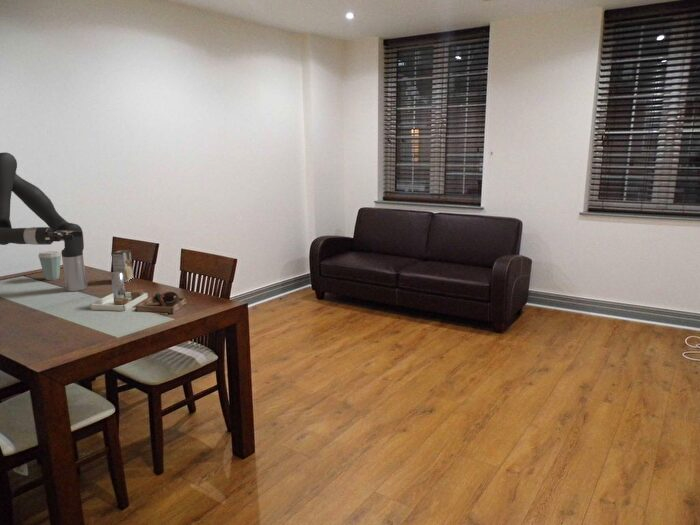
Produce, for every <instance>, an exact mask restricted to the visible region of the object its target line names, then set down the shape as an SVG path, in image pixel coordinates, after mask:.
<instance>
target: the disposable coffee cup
mask: <svg viewBox="0 0 700 525" xmlns="http://www.w3.org/2000/svg"><path fill="white" fill-rule="evenodd" d="M38 259H39V262H40V265H41V268H42V270H41V271H42V273H43V275H44V279H45V280H46V281H54V280H58V279H60V275H61V274H60V273H61V260H62V254H61V252H60V251H58V250H57V251H55V250H52V251H51V250H50V251H49V250H48V251H40V252H39V253H38Z"/></svg>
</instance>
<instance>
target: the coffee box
mask: <svg viewBox="0 0 700 525" xmlns="http://www.w3.org/2000/svg"><path fill="white" fill-rule="evenodd" d="M111 261H112V270H113V271H112V272H123V276H124V282H127V281H128V282H130V281H131V280H130V279H132V278H133V279H135V276H134V271H133V270H134V269H133V259H132V250H131V249H119V250H116V251H114V252H111ZM133 279H132V280H133ZM129 280H130V281H129ZM128 282H127V283H128Z"/></svg>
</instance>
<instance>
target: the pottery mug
mask: <svg viewBox="0 0 700 525" xmlns="http://www.w3.org/2000/svg"><path fill="white" fill-rule="evenodd" d="M153 297H154V299H155V300H156V301H157V302H156V303H158V305H159V306H161V307H173V306H174V305H176V304H177V303H179V302H180V300H179V299H178V298H180V296H179V295H178V294H177V292H175V291H171V290H168V291H164V292H162V293H156V294H154V295H153ZM174 297H176V299H173V298H174Z"/></svg>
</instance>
